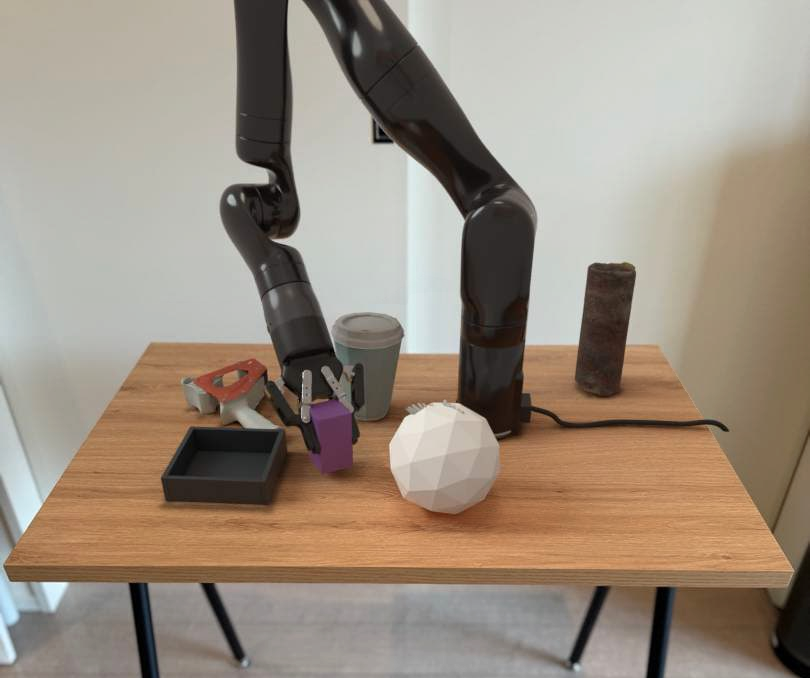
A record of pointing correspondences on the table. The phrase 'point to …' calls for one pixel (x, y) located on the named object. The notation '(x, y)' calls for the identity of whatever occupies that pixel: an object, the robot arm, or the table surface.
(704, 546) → the table surface
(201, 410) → the tape dispenser
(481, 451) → the geodesic sphere
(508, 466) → the table surface
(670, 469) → the table surface
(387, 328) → the disposable coffee cup
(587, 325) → the candle
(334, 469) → the plum block
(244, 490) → the tray
